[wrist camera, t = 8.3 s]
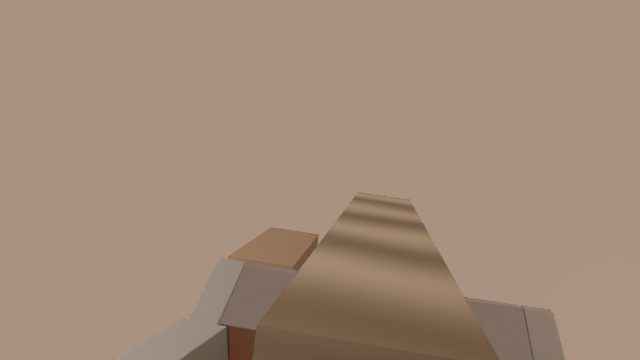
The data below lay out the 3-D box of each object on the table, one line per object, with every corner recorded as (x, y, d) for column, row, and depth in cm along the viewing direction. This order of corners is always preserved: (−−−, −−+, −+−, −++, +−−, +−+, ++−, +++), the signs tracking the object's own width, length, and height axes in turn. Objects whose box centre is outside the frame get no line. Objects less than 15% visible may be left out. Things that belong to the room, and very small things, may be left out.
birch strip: (479, 529, 7) (503, 367, 7) (236, 480, 7) (256, 325, 7) (404, 233, 33) (409, 199, 32) (353, 226, 33) (358, 192, 33)
